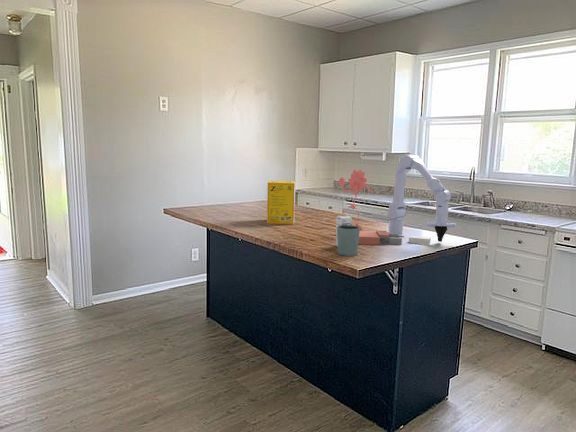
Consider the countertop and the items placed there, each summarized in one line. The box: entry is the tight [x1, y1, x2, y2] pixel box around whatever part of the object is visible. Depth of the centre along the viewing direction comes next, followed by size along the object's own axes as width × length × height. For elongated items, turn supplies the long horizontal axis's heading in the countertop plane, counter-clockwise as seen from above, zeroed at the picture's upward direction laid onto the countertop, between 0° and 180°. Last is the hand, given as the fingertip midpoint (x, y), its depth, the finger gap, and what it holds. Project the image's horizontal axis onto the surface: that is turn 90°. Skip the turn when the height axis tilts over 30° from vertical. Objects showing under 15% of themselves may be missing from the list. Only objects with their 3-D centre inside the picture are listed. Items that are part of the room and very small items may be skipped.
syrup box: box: [335, 215, 353, 247], centre depth 209 cm, size 6×6×14 cm
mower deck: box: [358, 229, 403, 246], centre depth 224 cm, size 16×21×4 cm
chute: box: [408, 235, 432, 245], centre depth 222 cm, size 5×10×3 cm, turn 66°
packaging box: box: [266, 180, 296, 225], centre depth 275 cm, size 16×16×25 cm
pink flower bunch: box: [338, 169, 374, 231], centre depth 244 cm, size 15×26×35 cm, turn 38°
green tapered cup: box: [337, 225, 361, 257], centre depth 195 cm, size 10×10×12 cm
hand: (439, 241), depth 222 cm, fingers closed
